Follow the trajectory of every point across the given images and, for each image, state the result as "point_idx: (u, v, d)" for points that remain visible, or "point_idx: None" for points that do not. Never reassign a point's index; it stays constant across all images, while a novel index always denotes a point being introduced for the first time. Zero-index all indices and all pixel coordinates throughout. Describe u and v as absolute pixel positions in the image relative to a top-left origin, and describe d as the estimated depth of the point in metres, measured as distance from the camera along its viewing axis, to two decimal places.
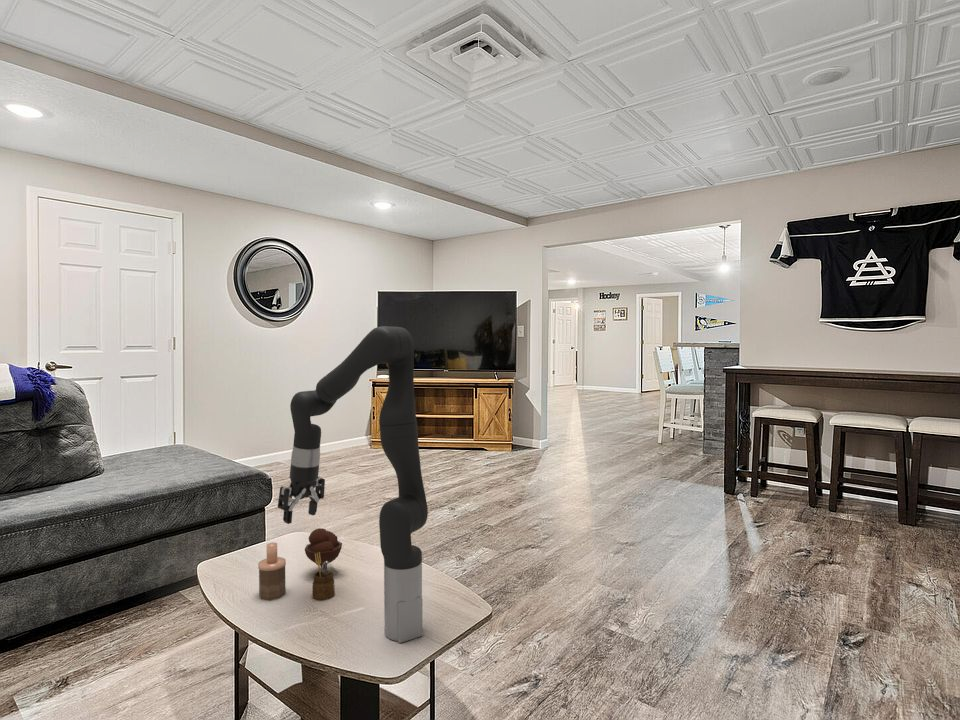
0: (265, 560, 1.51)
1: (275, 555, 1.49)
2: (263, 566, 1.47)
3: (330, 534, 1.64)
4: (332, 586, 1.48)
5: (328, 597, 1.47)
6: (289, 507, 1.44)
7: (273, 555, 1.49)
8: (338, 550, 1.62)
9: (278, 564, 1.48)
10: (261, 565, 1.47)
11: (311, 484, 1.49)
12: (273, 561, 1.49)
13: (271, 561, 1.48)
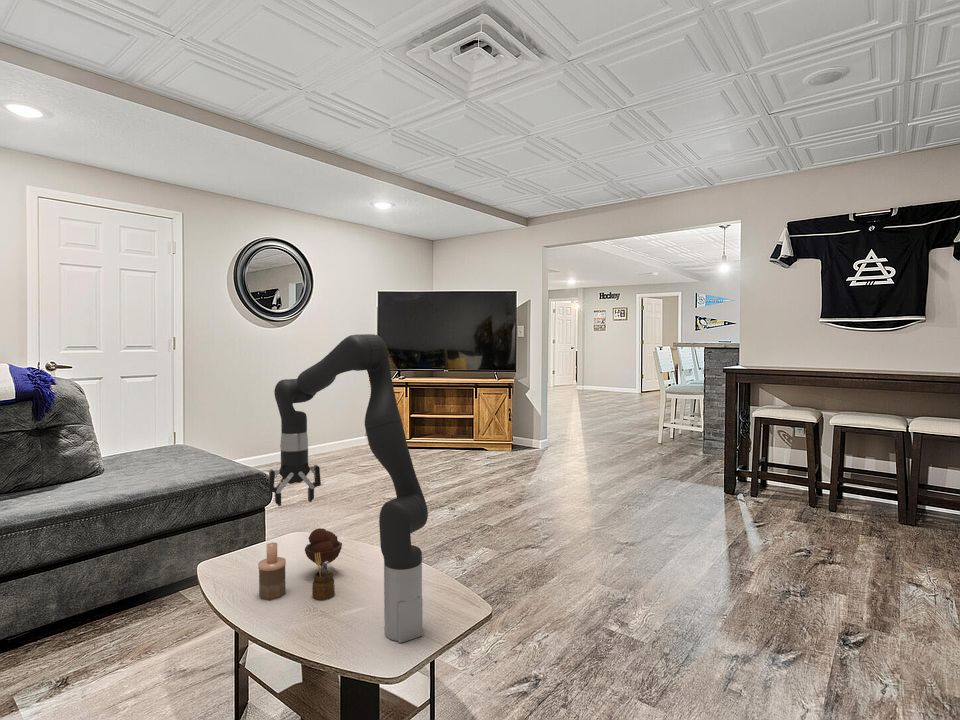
0: (265, 560, 1.51)
1: (275, 555, 1.49)
2: (263, 566, 1.47)
3: (330, 534, 1.64)
4: (332, 586, 1.48)
5: (328, 597, 1.47)
6: (277, 489, 1.52)
7: (273, 555, 1.49)
8: (338, 550, 1.62)
9: (278, 564, 1.48)
10: (261, 565, 1.47)
11: (302, 470, 1.55)
12: (273, 561, 1.49)
13: (271, 561, 1.48)
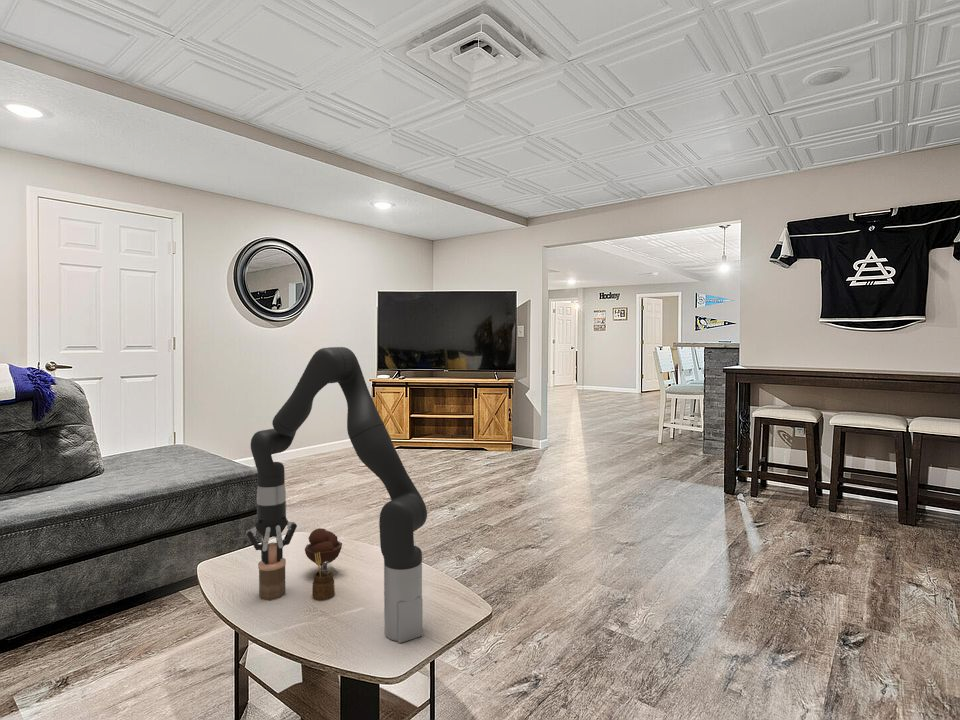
0: None
1: (275, 555, 1.49)
2: (263, 566, 1.47)
3: (330, 534, 1.64)
4: (332, 586, 1.48)
5: (328, 597, 1.47)
6: (262, 548, 1.47)
7: (273, 555, 1.49)
8: (338, 550, 1.62)
9: (278, 564, 1.48)
10: (261, 565, 1.47)
11: (280, 524, 1.50)
12: (273, 561, 1.49)
13: (271, 561, 1.48)
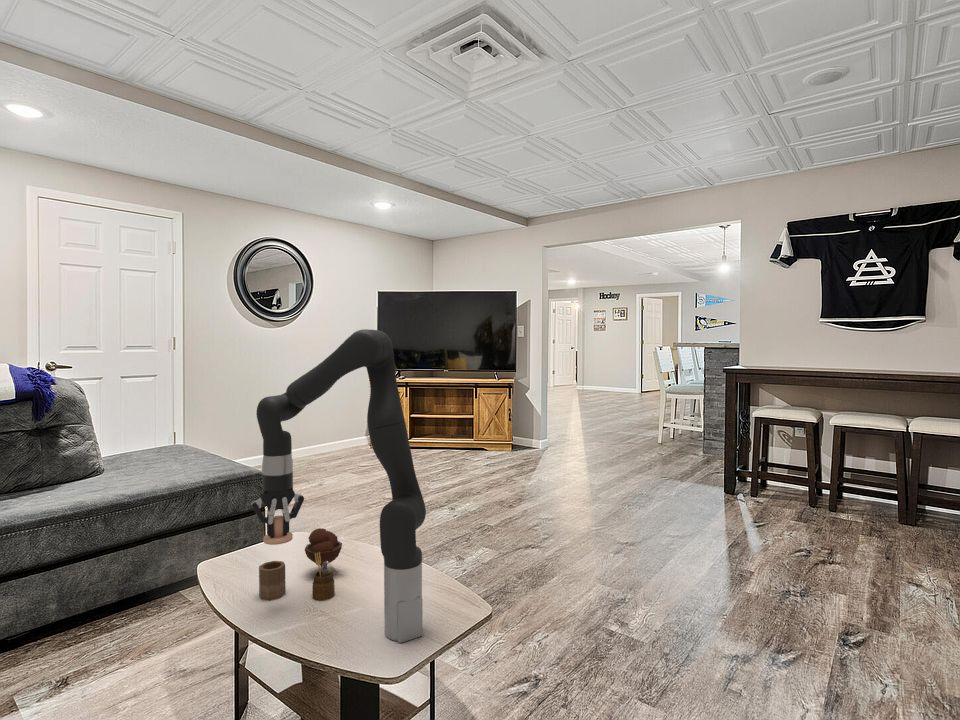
0: None
1: (281, 528, 1.41)
2: (269, 540, 1.39)
3: (330, 534, 1.64)
4: (332, 586, 1.48)
5: (328, 597, 1.47)
6: (268, 521, 1.39)
7: (280, 528, 1.41)
8: (338, 550, 1.62)
9: (285, 538, 1.40)
10: (267, 539, 1.40)
11: (287, 496, 1.42)
12: (279, 535, 1.41)
13: (277, 535, 1.41)
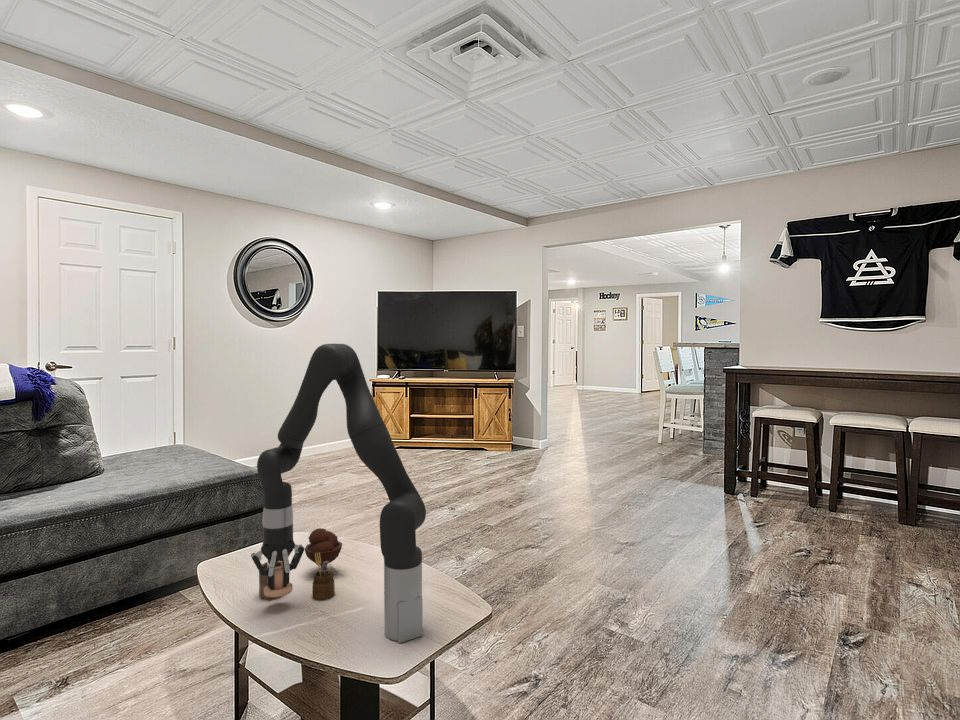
0: None
1: (281, 580, 1.42)
2: (269, 592, 1.39)
3: (330, 534, 1.64)
4: (332, 586, 1.48)
5: (328, 597, 1.47)
6: (268, 573, 1.40)
7: (280, 580, 1.41)
8: (338, 550, 1.62)
9: (285, 590, 1.41)
10: (267, 591, 1.40)
11: (287, 548, 1.42)
12: (279, 586, 1.41)
13: (277, 586, 1.41)
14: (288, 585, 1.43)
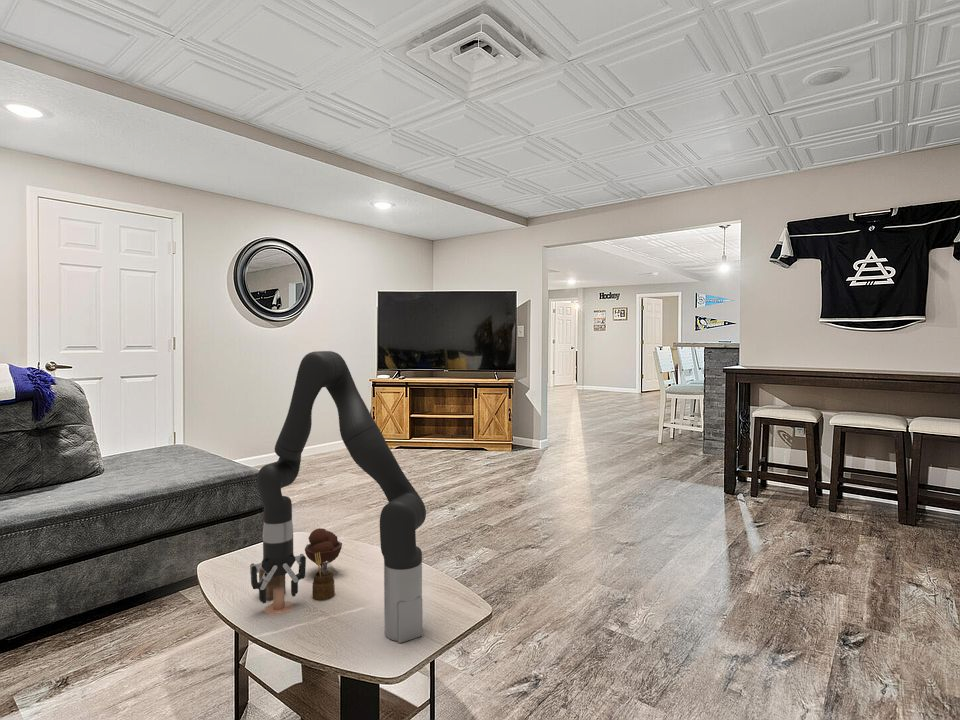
0: (272, 605, 1.44)
1: (282, 601, 1.42)
2: (270, 613, 1.39)
3: (330, 534, 1.64)
4: (332, 586, 1.48)
5: (328, 597, 1.47)
6: (260, 586, 1.39)
7: (281, 600, 1.41)
8: (338, 550, 1.62)
9: (285, 610, 1.41)
10: (268, 612, 1.40)
11: (287, 561, 1.42)
12: (280, 607, 1.41)
13: (278, 607, 1.41)
14: (289, 605, 1.43)
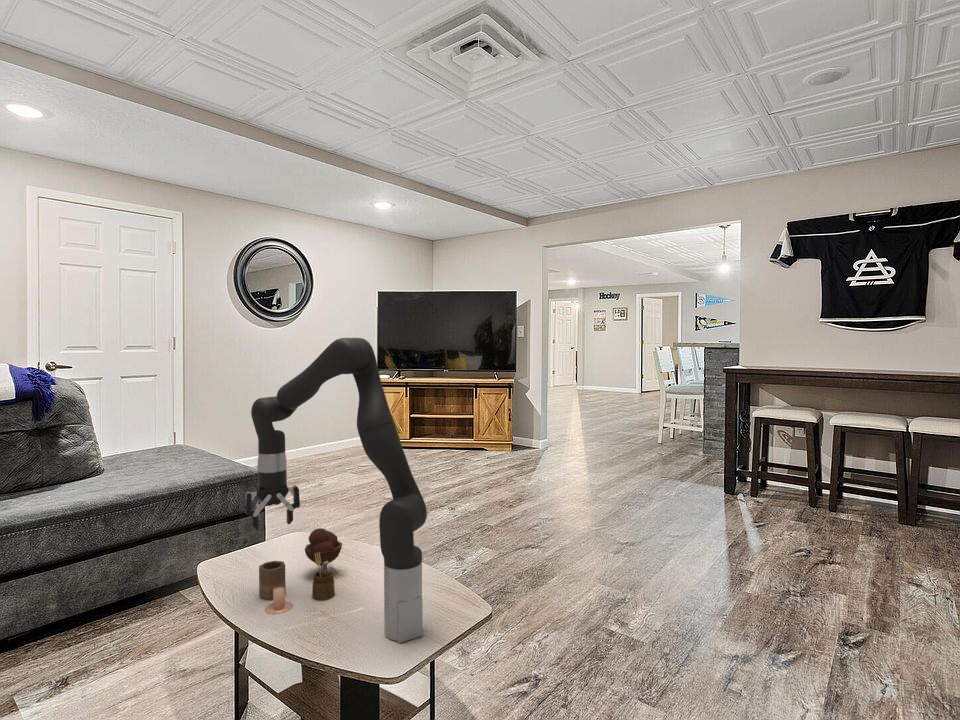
0: (272, 605, 1.44)
1: (282, 601, 1.42)
2: (270, 613, 1.39)
3: (330, 534, 1.64)
4: (332, 586, 1.48)
5: (328, 597, 1.47)
6: (253, 512, 1.46)
7: (281, 600, 1.41)
8: (338, 550, 1.62)
9: (285, 610, 1.41)
10: (268, 612, 1.40)
11: (280, 491, 1.49)
12: (280, 607, 1.41)
13: (278, 607, 1.41)
14: (289, 605, 1.43)
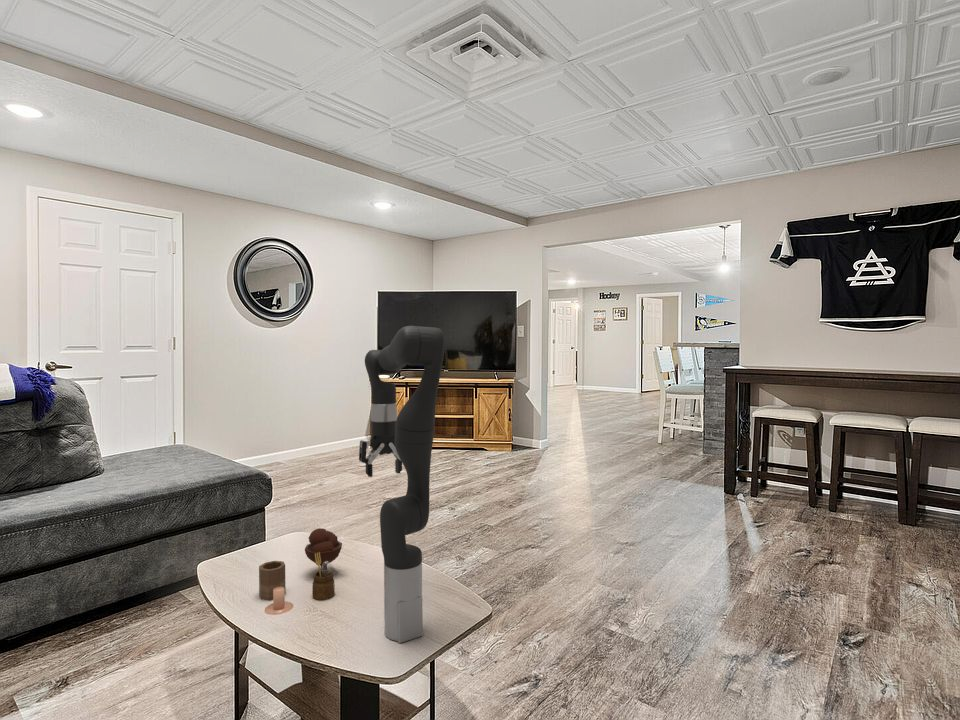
0: (272, 605, 1.44)
1: (282, 601, 1.42)
2: (270, 613, 1.39)
3: (330, 534, 1.64)
4: (332, 586, 1.48)
5: (328, 597, 1.47)
6: (368, 460, 1.51)
7: (281, 600, 1.41)
8: (338, 550, 1.62)
9: (285, 610, 1.41)
10: (267, 612, 1.40)
11: (391, 441, 1.55)
12: (280, 607, 1.41)
13: (278, 607, 1.41)
14: (289, 605, 1.43)
